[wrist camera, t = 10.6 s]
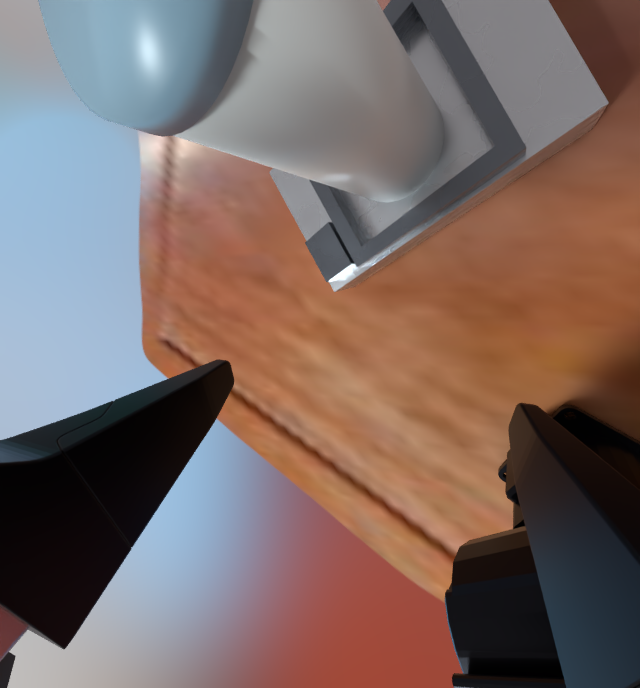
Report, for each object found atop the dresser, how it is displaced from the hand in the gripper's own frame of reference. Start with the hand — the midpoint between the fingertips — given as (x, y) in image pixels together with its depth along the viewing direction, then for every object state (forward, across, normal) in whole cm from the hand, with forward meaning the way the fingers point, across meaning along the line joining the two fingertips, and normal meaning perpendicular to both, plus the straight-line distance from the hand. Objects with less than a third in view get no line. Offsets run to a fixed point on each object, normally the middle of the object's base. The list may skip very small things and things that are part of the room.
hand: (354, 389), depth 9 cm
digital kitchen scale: (+14, 0, -6) cm, 15 cm away
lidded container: (+11, 0, -7) cm, 13 cm away
